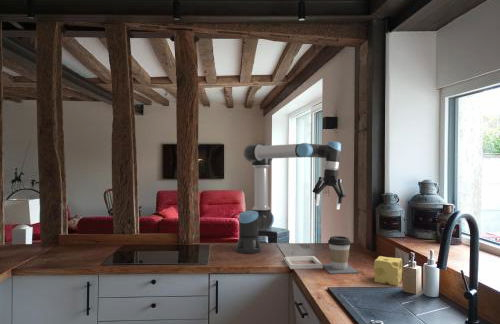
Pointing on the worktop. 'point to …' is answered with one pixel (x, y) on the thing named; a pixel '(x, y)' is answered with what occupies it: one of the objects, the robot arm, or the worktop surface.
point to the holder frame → (303, 266)
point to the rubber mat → (333, 271)
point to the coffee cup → (339, 252)
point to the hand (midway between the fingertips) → (326, 207)
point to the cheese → (388, 270)
